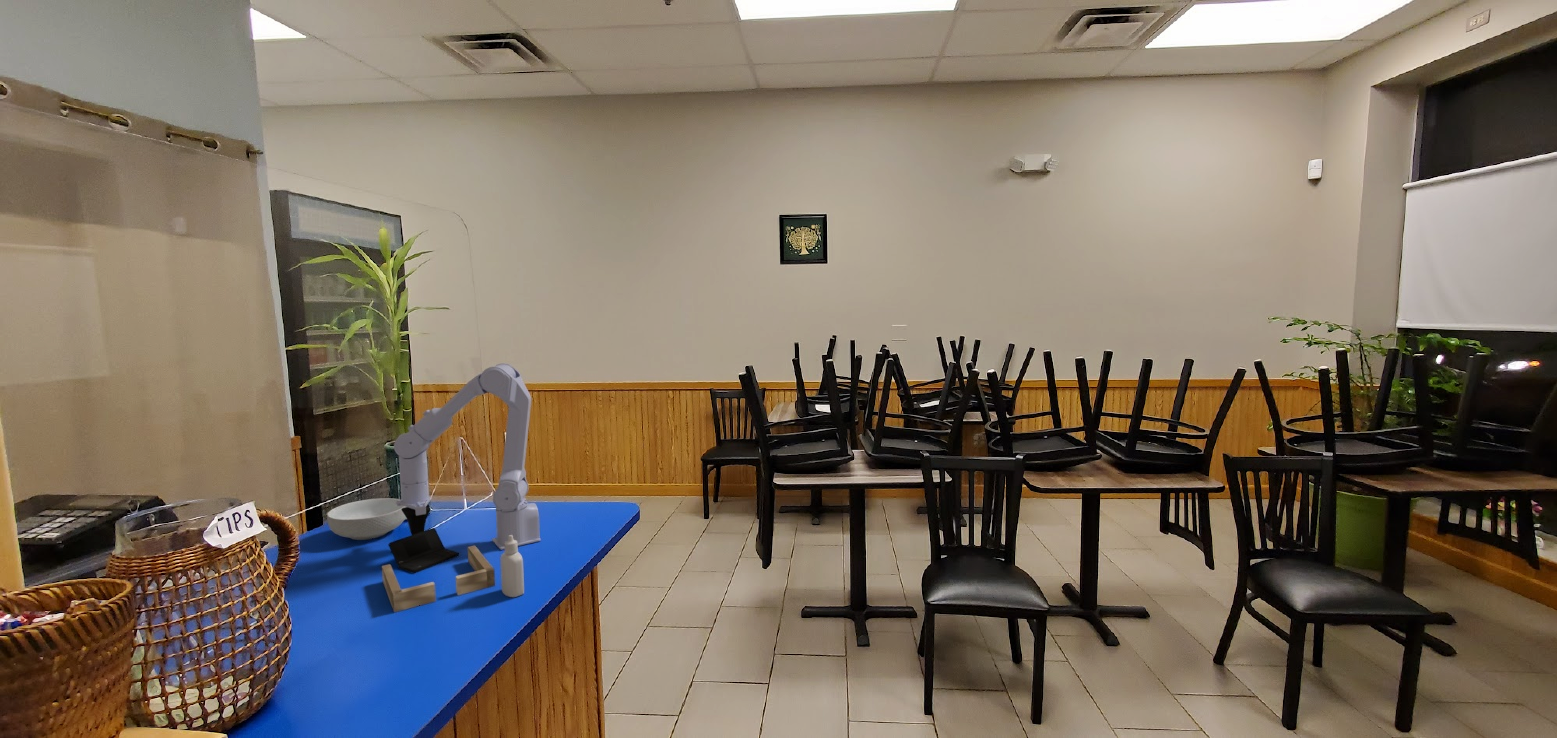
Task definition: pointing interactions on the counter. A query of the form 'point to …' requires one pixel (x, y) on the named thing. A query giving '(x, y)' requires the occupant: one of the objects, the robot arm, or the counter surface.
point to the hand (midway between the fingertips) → (417, 536)
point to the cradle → (426, 592)
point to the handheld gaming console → (420, 551)
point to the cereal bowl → (366, 518)
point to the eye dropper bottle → (512, 569)
